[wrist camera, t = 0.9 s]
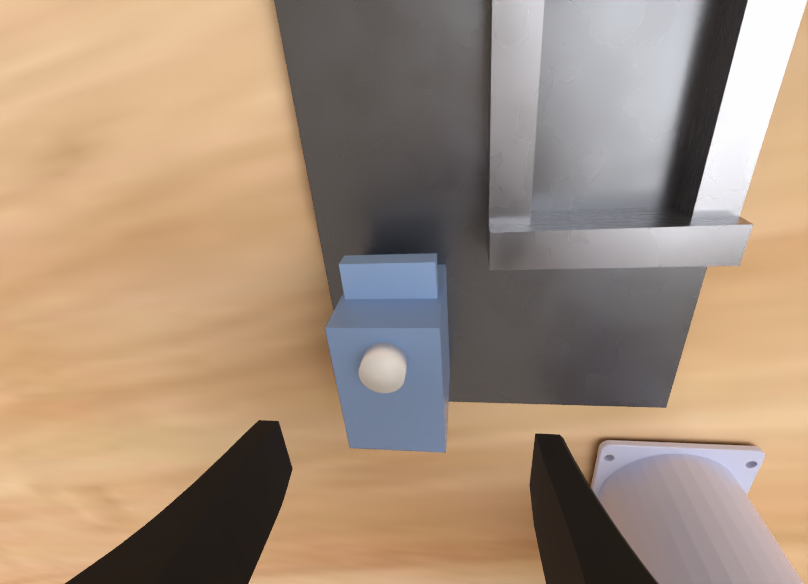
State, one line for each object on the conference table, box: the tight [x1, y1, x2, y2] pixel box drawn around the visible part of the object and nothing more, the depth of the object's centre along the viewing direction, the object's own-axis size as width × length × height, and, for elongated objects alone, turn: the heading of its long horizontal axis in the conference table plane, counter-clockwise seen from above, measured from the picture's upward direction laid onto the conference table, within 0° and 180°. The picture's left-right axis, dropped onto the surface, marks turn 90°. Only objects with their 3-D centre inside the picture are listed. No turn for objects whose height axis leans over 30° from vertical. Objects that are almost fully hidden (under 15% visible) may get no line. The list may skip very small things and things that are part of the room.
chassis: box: [274, 0, 807, 408], centre depth 16 cm, size 20×16×3 cm
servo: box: [325, 253, 450, 452], centre depth 17 cm, size 9×4×6 cm, turn 5°
